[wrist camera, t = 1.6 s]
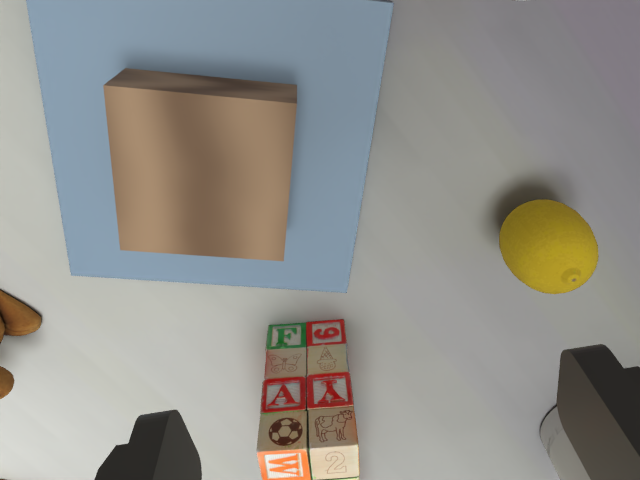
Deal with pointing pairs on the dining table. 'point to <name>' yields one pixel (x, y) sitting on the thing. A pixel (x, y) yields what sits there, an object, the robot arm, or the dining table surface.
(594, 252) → the lemon
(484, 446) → the dining table surface
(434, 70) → the dining table surface
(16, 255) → the dining table surface
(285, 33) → the light blue board
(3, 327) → the stuffed squirrel
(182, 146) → the walnut plinth
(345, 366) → the stack of blocks
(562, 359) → the robot arm
